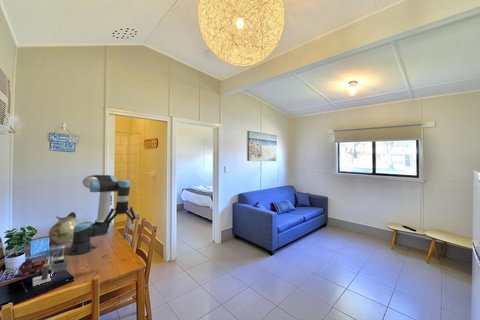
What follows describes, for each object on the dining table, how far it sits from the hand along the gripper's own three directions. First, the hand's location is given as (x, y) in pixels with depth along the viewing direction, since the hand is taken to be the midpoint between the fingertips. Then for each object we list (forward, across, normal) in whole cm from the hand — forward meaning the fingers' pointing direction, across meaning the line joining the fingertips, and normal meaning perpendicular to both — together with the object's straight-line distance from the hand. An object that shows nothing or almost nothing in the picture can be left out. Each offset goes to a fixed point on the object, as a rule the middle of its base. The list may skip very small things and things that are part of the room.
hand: (119, 230), depth 140 cm
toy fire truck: (+28, -41, +29) cm, 58 cm away
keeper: (+28, -36, +13) cm, 47 cm away
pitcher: (+28, -20, +84) cm, 91 cm away
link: (+28, -29, +22) cm, 46 cm away
